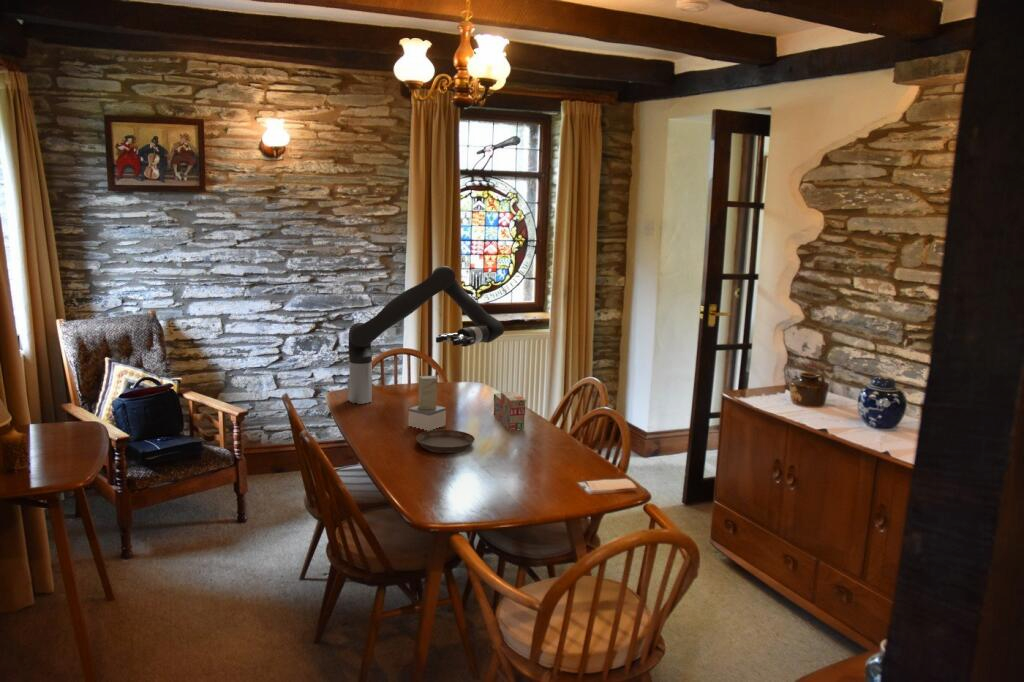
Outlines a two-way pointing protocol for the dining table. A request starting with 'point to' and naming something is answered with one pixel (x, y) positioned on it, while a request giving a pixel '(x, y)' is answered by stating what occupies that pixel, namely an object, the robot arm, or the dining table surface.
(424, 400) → the skincare box
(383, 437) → the dining table surface
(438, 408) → the block
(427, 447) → the plant saucer
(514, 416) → the printed cardboard box
